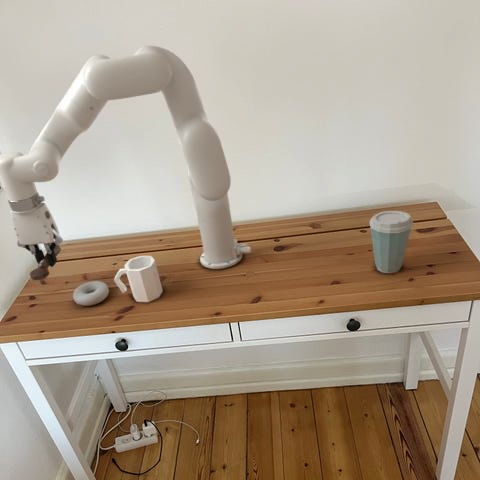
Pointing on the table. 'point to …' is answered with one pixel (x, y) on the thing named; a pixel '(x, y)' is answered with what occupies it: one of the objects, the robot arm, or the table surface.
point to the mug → (141, 278)
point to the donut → (90, 293)
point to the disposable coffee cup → (390, 239)
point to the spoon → (43, 267)
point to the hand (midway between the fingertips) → (48, 264)
